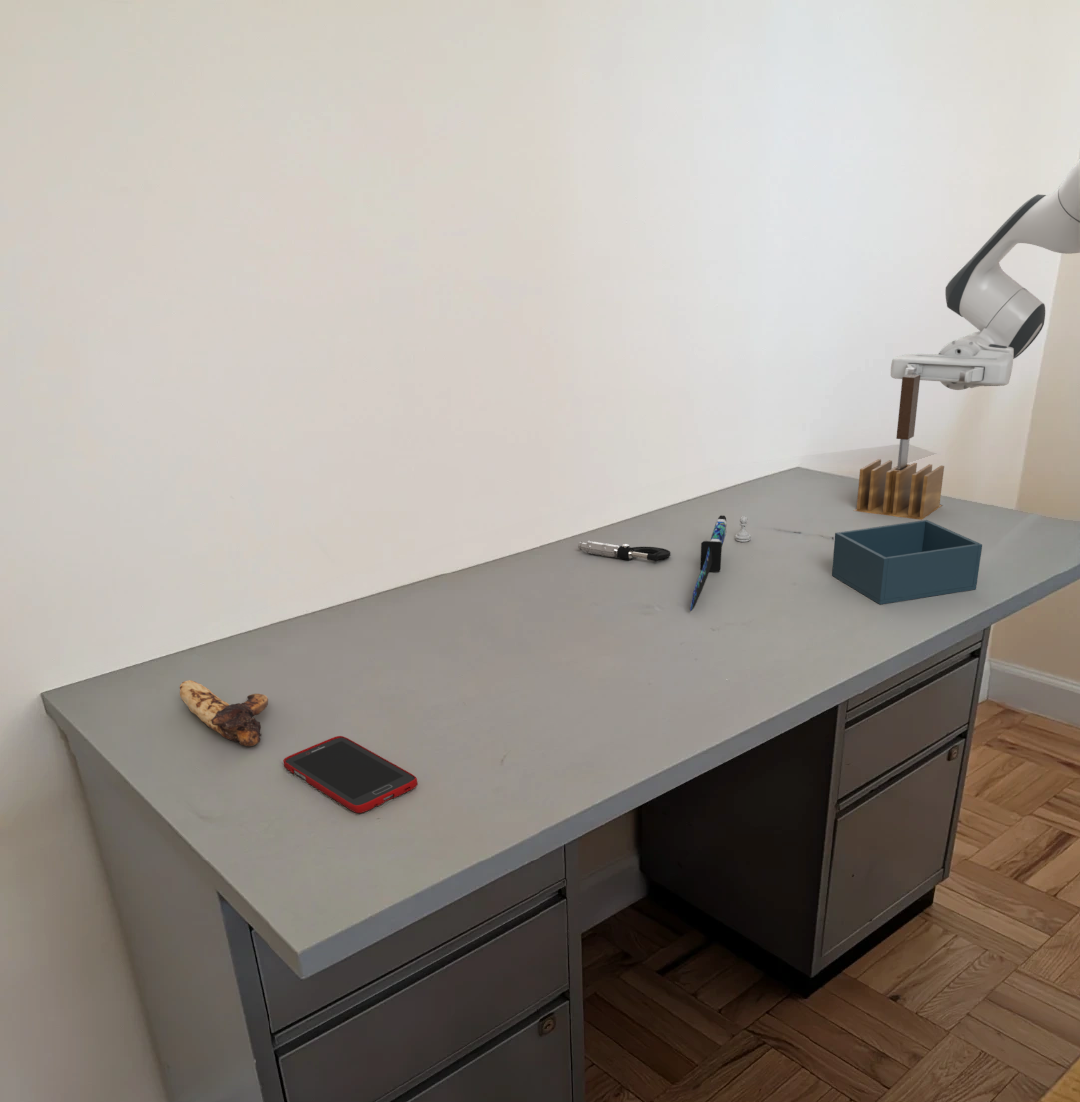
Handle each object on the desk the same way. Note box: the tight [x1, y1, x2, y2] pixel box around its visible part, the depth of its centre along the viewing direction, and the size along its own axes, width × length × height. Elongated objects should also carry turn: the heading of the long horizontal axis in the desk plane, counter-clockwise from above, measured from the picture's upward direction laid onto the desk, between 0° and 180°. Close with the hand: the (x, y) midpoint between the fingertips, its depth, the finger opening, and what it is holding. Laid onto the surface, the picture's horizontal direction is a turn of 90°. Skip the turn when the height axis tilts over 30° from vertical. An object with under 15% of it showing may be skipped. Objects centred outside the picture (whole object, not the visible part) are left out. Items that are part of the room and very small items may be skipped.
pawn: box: [734, 515, 752, 543], centre depth 172 cm, size 3×3×4 cm
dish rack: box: [852, 458, 945, 521], centre depth 179 cm, size 12×10×8 cm
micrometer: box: [577, 540, 671, 562], centre depth 169 cm, size 15×7×2 cm, turn 55°
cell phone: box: [282, 735, 418, 814], centre depth 108 cm, size 8×15×1 cm, turn 43°
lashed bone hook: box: [179, 679, 269, 747], centre depth 121 cm, size 9×5×18 cm
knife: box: [689, 514, 728, 612], centre depth 156 cm, size 31×3×4 cm, turn 159°
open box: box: [831, 519, 983, 605], centre depth 149 cm, size 15×13×7 cm
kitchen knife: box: [895, 374, 921, 470], centre depth 175 cm, size 2×3×22 cm, turn 142°
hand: (935, 375), depth 179 cm, fingers open, 8 cm apart
